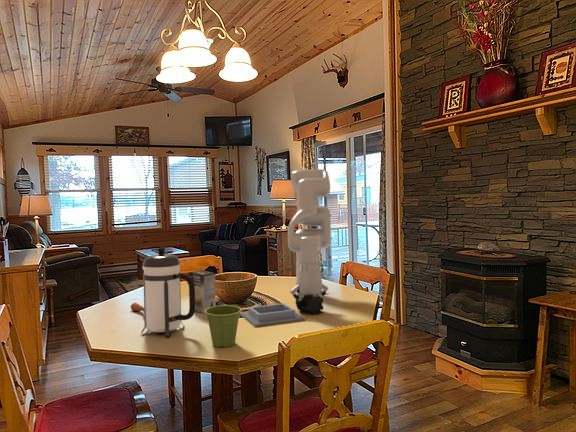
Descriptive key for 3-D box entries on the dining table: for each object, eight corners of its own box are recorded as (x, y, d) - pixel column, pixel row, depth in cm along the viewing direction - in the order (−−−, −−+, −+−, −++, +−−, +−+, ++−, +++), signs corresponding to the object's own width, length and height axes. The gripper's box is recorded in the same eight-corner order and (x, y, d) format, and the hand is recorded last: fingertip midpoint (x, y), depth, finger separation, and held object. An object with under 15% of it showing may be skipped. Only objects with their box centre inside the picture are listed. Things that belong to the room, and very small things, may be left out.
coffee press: (143, 342, 143) (141, 251, 142) (139, 328, 158) (137, 246, 156) (196, 335, 150) (194, 248, 148) (187, 322, 165) (185, 243, 163)
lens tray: (286, 309, 183) (286, 301, 182) (304, 320, 166) (304, 311, 166) (240, 314, 175) (240, 306, 175) (254, 327, 158) (254, 317, 158)
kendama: (142, 299, 186) (163, 304, 171) (140, 313, 186) (161, 319, 171) (128, 299, 182) (148, 304, 168) (126, 313, 182) (146, 320, 167)
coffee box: (190, 310, 183) (190, 272, 182) (203, 307, 187) (202, 270, 187) (203, 314, 176) (203, 274, 176) (216, 311, 181) (215, 272, 180)
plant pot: (198, 348, 137) (197, 312, 136) (217, 336, 148) (216, 303, 148) (231, 352, 133) (230, 316, 132) (248, 340, 144) (248, 306, 143)
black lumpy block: (295, 310, 180) (295, 294, 180) (308, 308, 184) (308, 292, 184) (310, 316, 172) (310, 299, 172) (324, 313, 176) (324, 296, 176)
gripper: (323, 263, 184) (324, 304, 185) (285, 266, 177) (286, 309, 178) (332, 266, 177) (332, 308, 178) (293, 269, 170) (293, 313, 171)
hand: (309, 308), depth 178 cm, fingers closed on black lumpy block, 8 cm apart
